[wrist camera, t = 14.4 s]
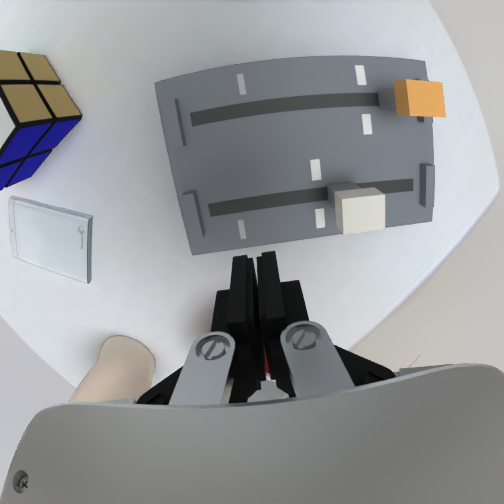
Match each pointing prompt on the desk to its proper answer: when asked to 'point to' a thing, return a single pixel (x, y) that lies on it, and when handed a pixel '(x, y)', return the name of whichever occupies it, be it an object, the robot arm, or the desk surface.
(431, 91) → the fader knob
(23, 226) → the hard drive
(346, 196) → the fader knob
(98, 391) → the water bottle
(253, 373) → the robot arm
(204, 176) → the fader console
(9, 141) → the puzzle cube
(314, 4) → the desk surface
